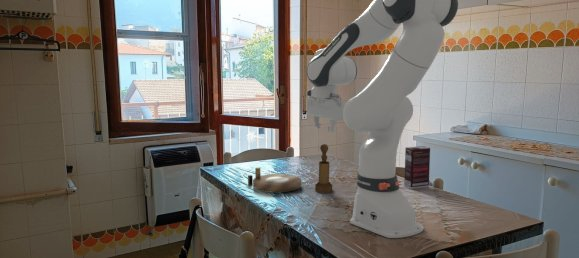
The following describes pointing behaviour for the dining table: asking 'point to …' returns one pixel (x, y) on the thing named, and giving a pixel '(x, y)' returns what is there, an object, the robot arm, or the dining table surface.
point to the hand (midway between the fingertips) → (324, 129)
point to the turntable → (275, 182)
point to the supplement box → (417, 167)
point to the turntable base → (250, 180)
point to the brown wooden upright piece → (323, 173)
